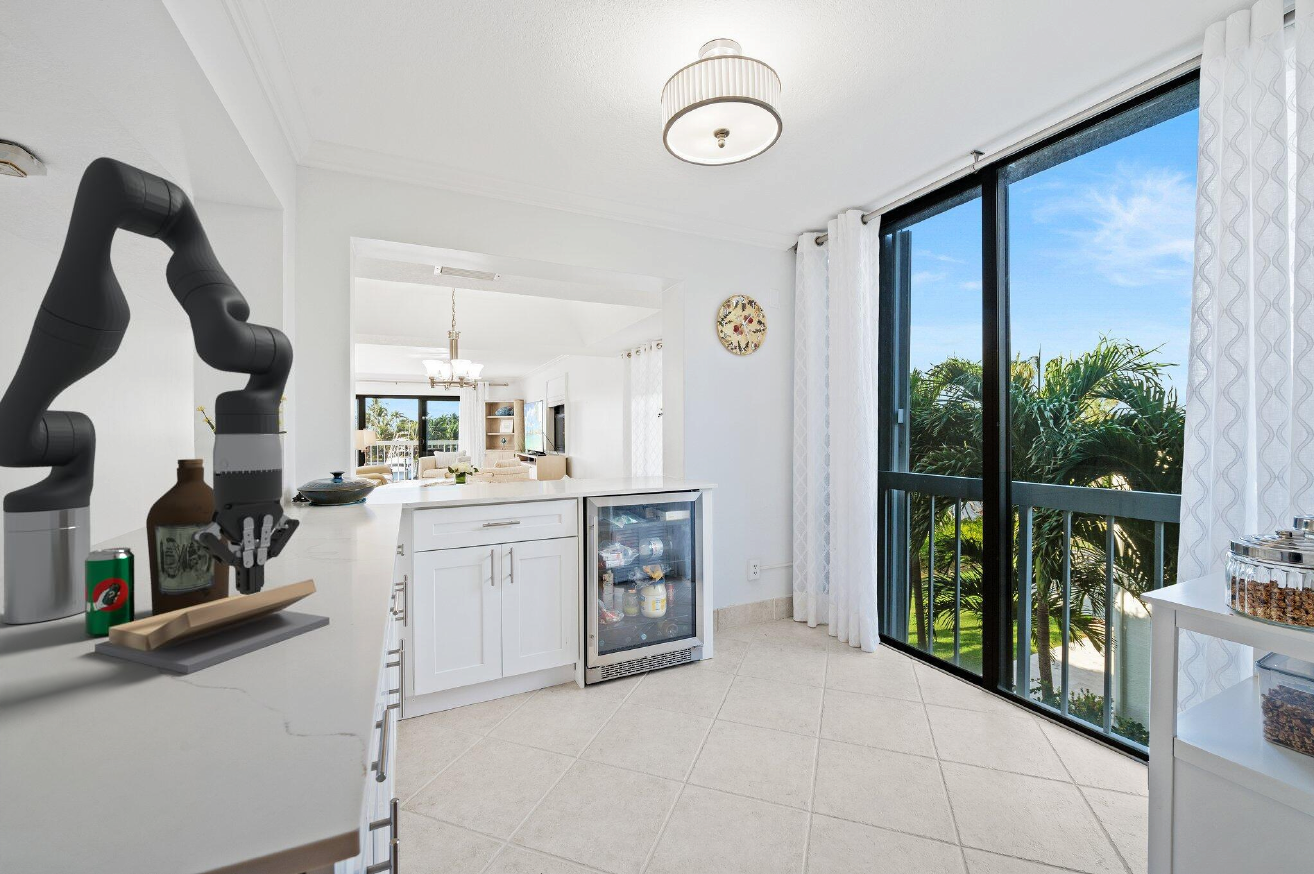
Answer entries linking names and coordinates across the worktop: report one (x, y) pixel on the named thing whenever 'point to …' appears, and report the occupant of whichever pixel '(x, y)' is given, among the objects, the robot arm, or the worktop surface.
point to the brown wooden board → (229, 613)
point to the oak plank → (150, 626)
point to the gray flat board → (220, 642)
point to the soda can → (109, 590)
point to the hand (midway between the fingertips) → (249, 592)
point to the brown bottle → (183, 544)
